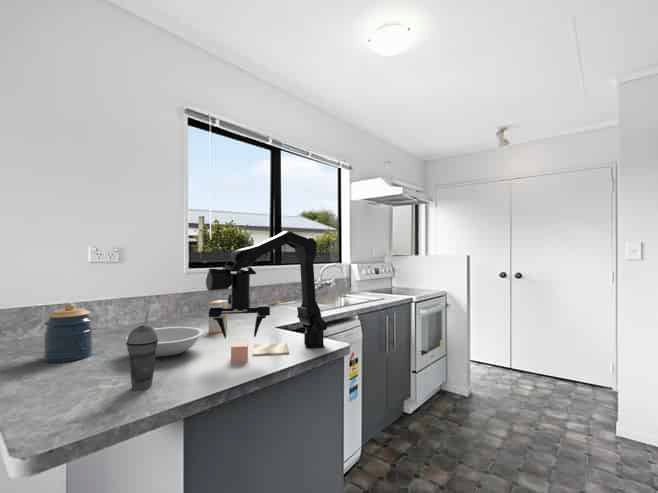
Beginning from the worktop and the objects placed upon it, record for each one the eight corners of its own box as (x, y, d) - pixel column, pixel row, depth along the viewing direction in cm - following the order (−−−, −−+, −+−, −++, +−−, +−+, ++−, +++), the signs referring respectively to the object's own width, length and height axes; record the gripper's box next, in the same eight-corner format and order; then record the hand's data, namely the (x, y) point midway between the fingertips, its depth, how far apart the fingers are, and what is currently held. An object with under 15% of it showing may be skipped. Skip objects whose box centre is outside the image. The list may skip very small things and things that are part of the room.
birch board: (286, 344, 132) (286, 343, 132) (288, 354, 120) (289, 352, 120) (253, 346, 129) (253, 344, 129) (252, 355, 118) (252, 353, 118)
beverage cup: (133, 382, 94) (134, 306, 94) (162, 381, 94) (163, 306, 94) (119, 393, 86) (120, 311, 87) (150, 392, 87) (151, 310, 87)
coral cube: (248, 357, 116) (248, 342, 116) (247, 362, 111) (247, 346, 111) (232, 358, 115) (232, 343, 115) (230, 363, 110) (231, 347, 110)
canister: (101, 353, 119) (102, 301, 119) (61, 365, 107) (62, 306, 107) (74, 350, 123) (75, 299, 124) (33, 360, 111) (34, 304, 111)
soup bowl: (107, 360, 112) (107, 339, 112) (165, 342, 135) (166, 324, 135) (166, 369, 104) (166, 346, 104) (218, 348, 127) (218, 329, 127)
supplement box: (218, 333, 149) (218, 302, 149) (208, 333, 150) (208, 302, 150) (227, 329, 157) (228, 299, 157) (217, 328, 158) (218, 299, 158)
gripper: (269, 285, 123) (269, 330, 123) (213, 286, 120) (213, 332, 119) (270, 289, 112) (269, 338, 112) (208, 290, 109) (208, 341, 108)
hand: (240, 337), depth 113 cm, fingers open, 9 cm apart
